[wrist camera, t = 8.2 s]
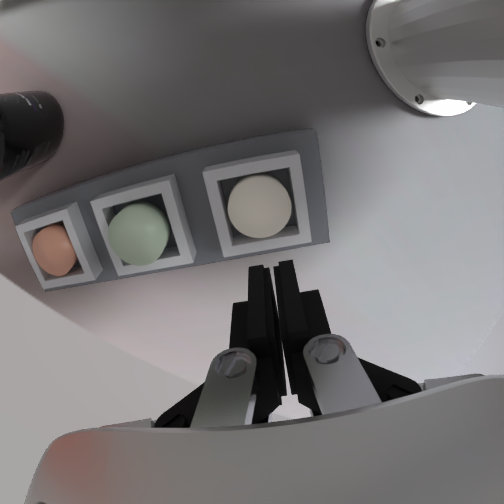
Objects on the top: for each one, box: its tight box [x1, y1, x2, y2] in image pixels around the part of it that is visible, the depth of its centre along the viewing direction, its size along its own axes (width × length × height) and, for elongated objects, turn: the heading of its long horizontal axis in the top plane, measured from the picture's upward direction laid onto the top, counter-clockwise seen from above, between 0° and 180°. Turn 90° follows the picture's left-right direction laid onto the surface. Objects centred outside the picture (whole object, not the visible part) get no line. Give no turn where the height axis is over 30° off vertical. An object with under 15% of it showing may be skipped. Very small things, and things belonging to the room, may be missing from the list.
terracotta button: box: [32, 222, 78, 276], centre depth 24 cm, size 4×4×2 cm
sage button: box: [108, 201, 170, 266], centre depth 23 cm, size 4×4×2 cm
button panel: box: [11, 128, 330, 291], centre depth 25 cm, size 28×9×4 cm, turn 101°
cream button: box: [228, 172, 292, 238], centre depth 23 cm, size 4×4×2 cm
